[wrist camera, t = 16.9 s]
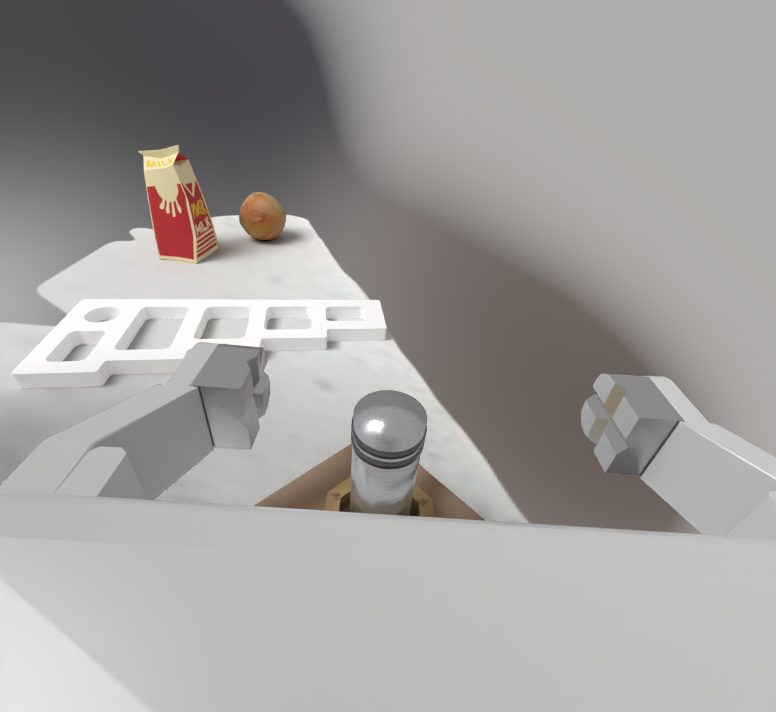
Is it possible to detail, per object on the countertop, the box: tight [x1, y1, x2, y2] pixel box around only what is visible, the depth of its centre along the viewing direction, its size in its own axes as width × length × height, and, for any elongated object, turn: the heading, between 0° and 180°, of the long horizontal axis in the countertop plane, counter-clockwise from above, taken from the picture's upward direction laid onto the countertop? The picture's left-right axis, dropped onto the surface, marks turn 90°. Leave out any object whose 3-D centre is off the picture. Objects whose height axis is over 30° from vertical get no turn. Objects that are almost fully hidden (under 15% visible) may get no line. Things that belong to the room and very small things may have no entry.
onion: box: [239, 192, 286, 240], centre depth 88 cm, size 10×10×10 cm
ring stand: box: [255, 444, 485, 521], centre depth 35 cm, size 18×16×3 cm
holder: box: [12, 299, 387, 389], centre depth 58 cm, size 45×18×3 cm, turn 98°
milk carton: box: [139, 145, 219, 264], centre depth 76 cm, size 9×9×20 cm
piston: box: [350, 390, 427, 516], centre depth 31 cm, size 5×5×14 cm
